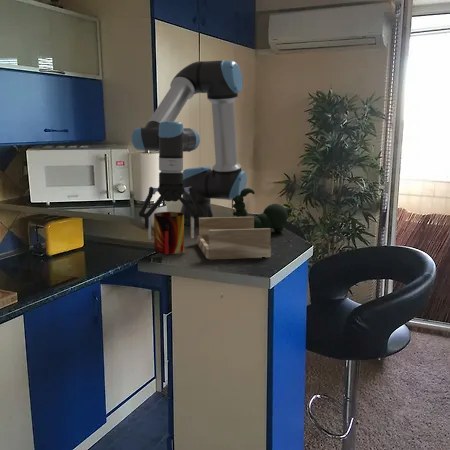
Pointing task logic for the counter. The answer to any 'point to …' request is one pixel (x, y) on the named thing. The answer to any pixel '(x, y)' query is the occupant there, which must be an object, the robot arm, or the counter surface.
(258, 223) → the toy figurine
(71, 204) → the counter surface
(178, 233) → the mug
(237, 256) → the open wooden box
